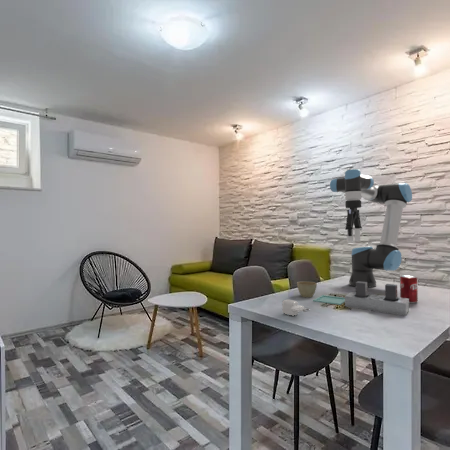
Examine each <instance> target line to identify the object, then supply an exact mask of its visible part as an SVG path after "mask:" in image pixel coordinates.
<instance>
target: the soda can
mask: <svg viewBox="0 0 450 450" xmlns="http://www.w3.org/2000/svg"><path fill="white" fill-rule="evenodd" d="M418 279H419V278H418V277H417V276H415V275H411V274H409V275H408V274H406V275H400V277H399V294H400V296H399V298H408V299H409V304H417V303H418V300H419V293H418V291H419V290H418V288H419V287H418V286H419V285H418V282H419V281H418Z"/></svg>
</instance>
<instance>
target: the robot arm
mask: <svg viewBox="0 0 450 450" xmlns="http://www.w3.org/2000/svg"><path fill="white" fill-rule="evenodd" d="M361 171H362V170H360V169H357V168H355V169H354V168H353V169H346V171H345V172H344V177H340V178H338V177H337V178H333V179H331V181H330V183H329V188H330V191H331V192H332V193H344V196H343V197H345V202H344V203H345V208H346V209H347V210H346V211H347V212H346V213H347V214H346V223H345V228H344V229H345V230H347V236H346V238H347V243H350V244H354V243H355V242H361V229H362V228H363V226H362V223H361V216H360V209H361V208H362V198H363V199H364V200H365V201H368V202H372V203H377V204H384V205H385V206H386V210H385V214H384V220H383V225H382V230H381V236H380V240H379V243H378V244H376V245H375V246H376V247H375V248H373V246H363V247H354V248H352V250H351V274H350V277H349V279H348V280H349V281H348V285H349V286H352V287H356V282H358V281H361V282H367V288H375V287H377V281H376V278H375V275H374V270H378V271H379V270H380V271H386V272H388V271H389V272H390V271H391V272H392V271H393V272H394V271H397V270H398V269H399V268H400V266H401V263H402V260H403V259H402V256H403V255H402V252H401V251H400V250H399V247H398V246H397V243H398V238H399V232H400V227H401V223H402V222H401V221H402V216H403V210H404V208H406V207H407V205H408V203H411V202H412V200H413V193H412V188H411V186H410V185H409V183H407V182H398V183H397V182H396V183H390V184H389V183H388V184H379V185H375V184H374V183H375V181H374V179H373V177H372V176H371V175H367V174H366V175H365V174H362V173H361Z"/></svg>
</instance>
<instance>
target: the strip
mask: <svg viewBox="0 0 450 450" xmlns="http://www.w3.org/2000/svg"><path fill="white" fill-rule="evenodd" d="M367 296H368V297H367V298H366V297H358V296H356V291H354V292H353V291H350V292H348V293H347V294H346V295H344V298H345V302H344V307H345V308H347V307H348V308H352V309H353V308H354V309H361V310H367V311H371V312H375V313H382V314H391V315H397V316H398V315H399V316H403V317H404V316H405V317H406V316H407V315H408V312H409V311H410V303H409V299H408V298H400V296H399V297H398V285H397V284H393V283H390V284H389V283H386V284H385V285H384V295H379V294H372V293H371V294H370V293H367Z"/></svg>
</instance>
